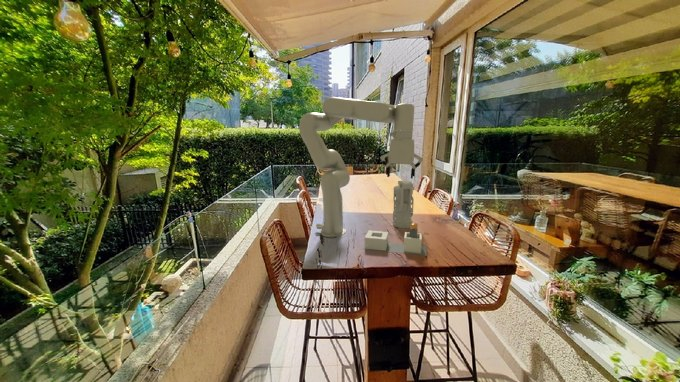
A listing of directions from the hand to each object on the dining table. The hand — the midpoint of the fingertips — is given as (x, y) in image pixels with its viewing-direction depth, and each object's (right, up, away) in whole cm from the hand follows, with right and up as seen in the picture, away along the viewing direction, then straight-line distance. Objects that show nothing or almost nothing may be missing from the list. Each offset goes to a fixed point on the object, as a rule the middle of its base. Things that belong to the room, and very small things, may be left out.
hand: (399, 177), depth 112 cm
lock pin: (+5, -30, 0) cm, 31 cm away
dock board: (-2, -31, +2) cm, 31 cm away
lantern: (+9, -25, +31) cm, 40 cm away
